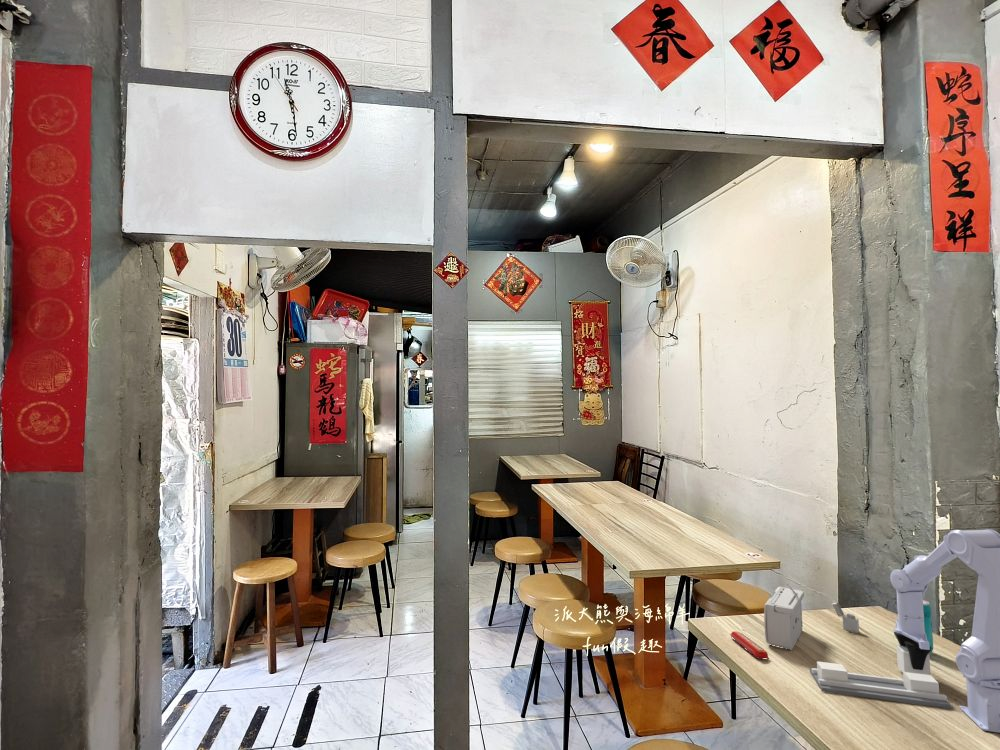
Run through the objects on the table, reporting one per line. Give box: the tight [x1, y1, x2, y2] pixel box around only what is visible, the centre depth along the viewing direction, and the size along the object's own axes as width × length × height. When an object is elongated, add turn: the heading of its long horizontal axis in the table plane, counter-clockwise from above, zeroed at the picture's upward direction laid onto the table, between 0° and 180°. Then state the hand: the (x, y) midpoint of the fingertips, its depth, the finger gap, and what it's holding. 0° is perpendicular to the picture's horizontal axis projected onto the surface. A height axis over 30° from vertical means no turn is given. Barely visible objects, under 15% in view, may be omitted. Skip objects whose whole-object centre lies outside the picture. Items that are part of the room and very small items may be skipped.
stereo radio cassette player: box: [763, 583, 805, 651], centre depth 164 cm, size 21×8×20 cm, turn 141°
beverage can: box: [923, 599, 934, 656], centre depth 155 cm, size 6×6×15 cm
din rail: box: [809, 667, 952, 710], centre depth 134 cm, size 10×28×2 cm, turn 74°
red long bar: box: [730, 631, 770, 660], centre depth 157 cm, size 16×4×3 cm, turn 7°
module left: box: [816, 661, 848, 682], centre depth 137 cm, size 4×6×4 cm, turn 74°
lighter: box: [831, 601, 860, 634], centre depth 171 cm, size 7×2×8 cm, turn 38°
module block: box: [896, 644, 932, 676], centre depth 141 cm, size 4×6×6 cm, turn 74°
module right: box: [902, 672, 940, 694], centre depth 131 cm, size 4×6×4 cm, turn 74°
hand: (913, 665), depth 141 cm, fingers closed on module block, 4 cm apart
